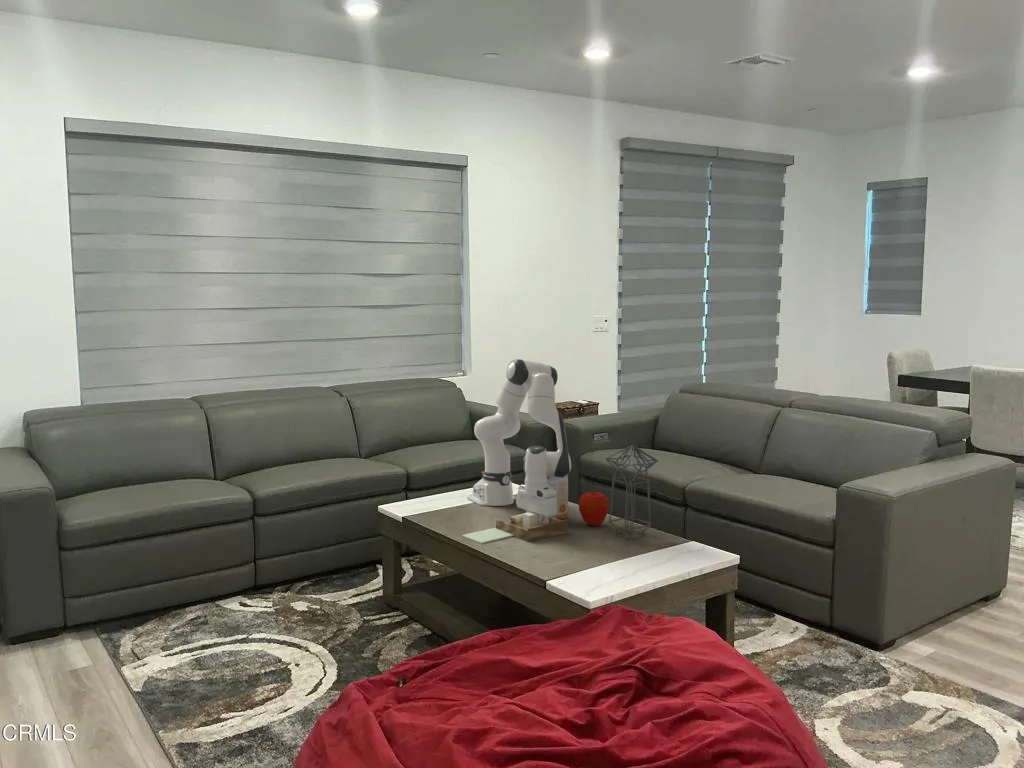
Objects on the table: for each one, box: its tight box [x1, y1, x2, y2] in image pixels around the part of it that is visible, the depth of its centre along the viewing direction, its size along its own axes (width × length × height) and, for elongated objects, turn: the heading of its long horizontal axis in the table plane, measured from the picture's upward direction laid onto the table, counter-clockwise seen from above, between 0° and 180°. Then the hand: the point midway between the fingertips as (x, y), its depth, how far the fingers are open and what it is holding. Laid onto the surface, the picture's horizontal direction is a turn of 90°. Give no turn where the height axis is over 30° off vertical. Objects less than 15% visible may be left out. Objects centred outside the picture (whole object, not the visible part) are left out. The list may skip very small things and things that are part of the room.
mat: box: [461, 527, 514, 545], centre depth 329 cm, size 12×16×1 cm
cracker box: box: [547, 474, 569, 520], centre depth 352 cm, size 14×6×21 cm, turn 122°
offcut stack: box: [509, 513, 523, 528], centre depth 341 cm, size 4×10×5 cm, turn 137°
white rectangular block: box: [522, 512, 549, 529], centre depth 334 cm, size 4×10×8 cm, turn 129°
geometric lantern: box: [605, 445, 659, 540], centre depth 329 cm, size 16×16×35 cm
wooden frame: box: [495, 517, 569, 543], centre depth 336 cm, size 20×20×5 cm
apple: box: [577, 491, 611, 527], centre depth 344 cm, size 12×12×14 cm
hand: (535, 523), depth 334 cm, fingers closed on white rectangular block, 4 cm apart
